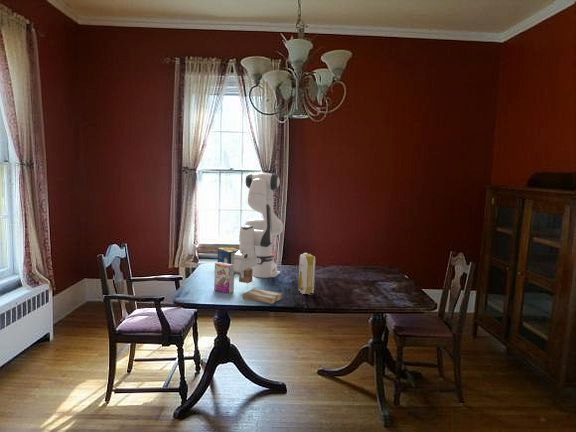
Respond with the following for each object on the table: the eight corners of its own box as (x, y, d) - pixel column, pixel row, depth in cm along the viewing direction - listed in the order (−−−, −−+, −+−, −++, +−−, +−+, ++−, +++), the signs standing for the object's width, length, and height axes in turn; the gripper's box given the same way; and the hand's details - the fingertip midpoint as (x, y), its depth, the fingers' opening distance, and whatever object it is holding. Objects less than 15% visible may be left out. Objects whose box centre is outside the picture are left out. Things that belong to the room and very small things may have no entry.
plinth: (254, 293, 248) (254, 288, 248) (281, 298, 240) (281, 293, 240) (243, 298, 237) (243, 293, 237) (271, 304, 230) (271, 298, 229)
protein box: (229, 267, 310) (230, 246, 308) (241, 272, 298) (241, 250, 297) (216, 269, 303) (217, 247, 302) (228, 274, 292) (228, 251, 290)
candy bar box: (213, 290, 251) (214, 263, 249) (219, 288, 255) (219, 261, 253) (228, 293, 245) (229, 265, 243) (234, 292, 250) (234, 264, 248)
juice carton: (296, 291, 256) (298, 251, 254) (308, 290, 259) (310, 251, 257) (302, 295, 248) (304, 254, 245) (315, 294, 251) (317, 254, 248)
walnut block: (243, 279, 254) (243, 266, 253) (252, 281, 251) (252, 267, 250) (238, 281, 249) (239, 268, 248) (247, 283, 247) (248, 269, 246)
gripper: (251, 249, 259) (250, 272, 261) (232, 255, 241) (231, 279, 242) (260, 250, 256) (259, 273, 258) (241, 256, 238) (241, 280, 240)
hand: (245, 276), depth 250 cm, fingers closed on walnut block, 5 cm apart
